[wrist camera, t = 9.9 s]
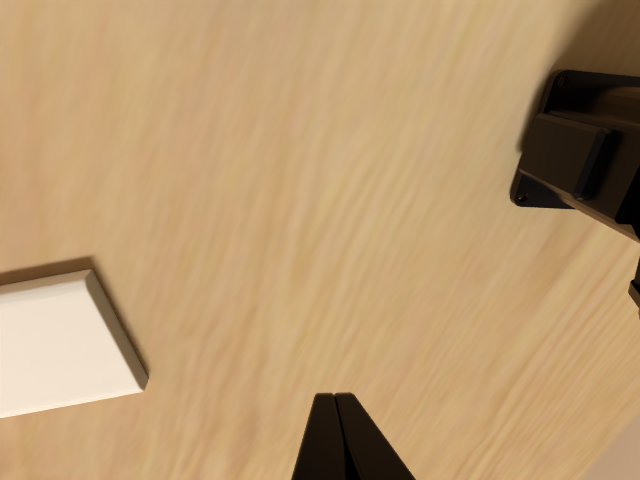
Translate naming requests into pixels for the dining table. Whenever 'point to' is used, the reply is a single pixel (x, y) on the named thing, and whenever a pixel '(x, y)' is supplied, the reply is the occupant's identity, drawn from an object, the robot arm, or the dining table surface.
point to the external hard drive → (62, 345)
